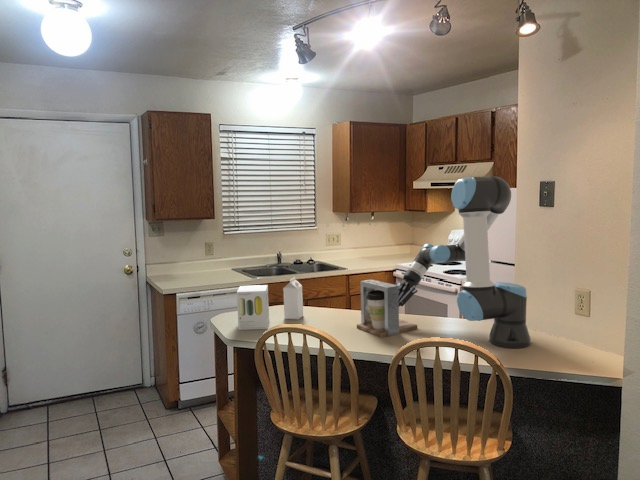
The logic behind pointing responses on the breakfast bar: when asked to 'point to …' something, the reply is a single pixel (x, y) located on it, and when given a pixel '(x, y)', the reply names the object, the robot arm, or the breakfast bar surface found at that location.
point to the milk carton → (293, 300)
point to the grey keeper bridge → (390, 304)
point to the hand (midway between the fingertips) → (386, 316)
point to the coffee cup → (377, 308)
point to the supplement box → (253, 307)
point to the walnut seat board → (381, 332)
